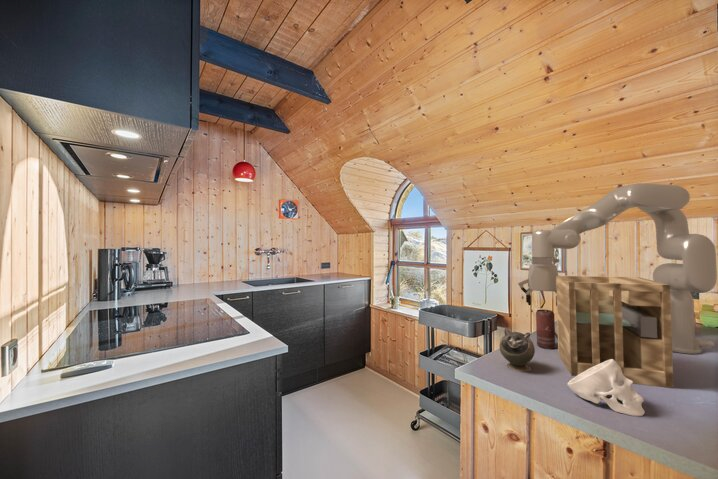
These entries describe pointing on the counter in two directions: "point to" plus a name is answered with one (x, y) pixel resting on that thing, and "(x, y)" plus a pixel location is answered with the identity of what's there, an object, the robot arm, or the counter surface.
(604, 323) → the green chalkboard
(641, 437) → the counter surface
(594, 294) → the zigzag grain wooden box
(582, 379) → the skull bowl
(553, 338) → the can
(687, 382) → the counter surface
